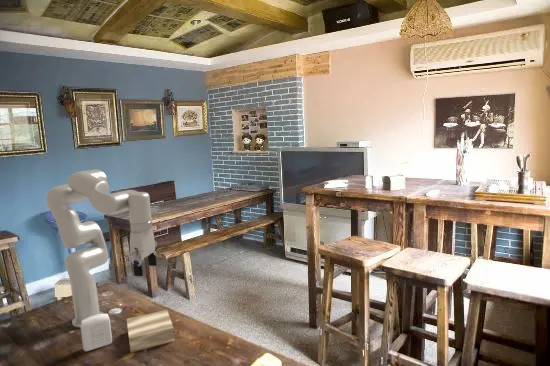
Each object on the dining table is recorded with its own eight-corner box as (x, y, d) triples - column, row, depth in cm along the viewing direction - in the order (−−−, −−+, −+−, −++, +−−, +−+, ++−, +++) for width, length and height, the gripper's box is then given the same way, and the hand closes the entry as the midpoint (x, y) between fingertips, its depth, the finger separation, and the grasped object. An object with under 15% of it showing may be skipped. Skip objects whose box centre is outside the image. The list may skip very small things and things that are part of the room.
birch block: (128, 332, 156) (126, 318, 155) (168, 322, 162) (167, 309, 161) (130, 353, 141) (128, 338, 140) (174, 341, 148) (173, 327, 147)
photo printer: (111, 338, 151) (107, 309, 149) (113, 343, 148) (109, 313, 146) (82, 348, 146) (78, 317, 144) (84, 353, 142) (79, 322, 140)
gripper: (144, 219, 149) (148, 261, 152) (118, 232, 132) (123, 279, 135) (162, 220, 147) (166, 262, 150) (137, 233, 131) (142, 280, 133)
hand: (145, 270), depth 142 cm, fingers open, 9 cm apart
